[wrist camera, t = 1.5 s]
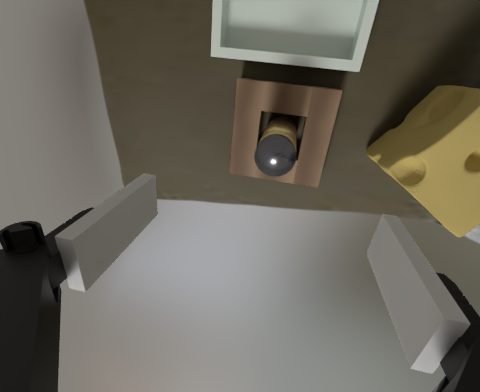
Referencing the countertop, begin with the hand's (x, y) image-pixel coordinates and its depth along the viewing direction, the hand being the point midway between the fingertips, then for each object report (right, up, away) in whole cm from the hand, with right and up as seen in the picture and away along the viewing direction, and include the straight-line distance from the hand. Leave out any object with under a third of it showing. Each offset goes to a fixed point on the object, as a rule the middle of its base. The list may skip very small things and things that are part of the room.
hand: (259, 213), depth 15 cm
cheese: (+22, +8, +17) cm, 29 cm away
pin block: (+4, +10, +19) cm, 22 cm away
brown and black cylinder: (+4, +10, +19) cm, 22 cm away
